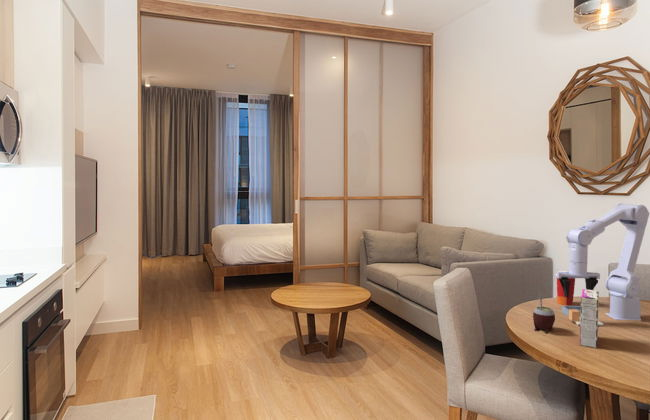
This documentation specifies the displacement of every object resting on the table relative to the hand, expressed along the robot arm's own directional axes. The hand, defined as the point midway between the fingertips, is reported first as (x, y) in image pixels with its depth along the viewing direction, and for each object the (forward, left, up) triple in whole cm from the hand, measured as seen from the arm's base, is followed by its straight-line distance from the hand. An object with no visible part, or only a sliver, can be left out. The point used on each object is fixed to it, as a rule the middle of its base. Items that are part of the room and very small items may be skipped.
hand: (577, 297), depth 164 cm
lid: (-3, +1, -9) cm, 10 cm away
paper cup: (-5, -24, -10) cm, 26 cm away
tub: (-3, -9, -10) cm, 14 cm away
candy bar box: (+5, +19, -10) cm, 22 cm away
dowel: (-4, -10, -9) cm, 14 cm away
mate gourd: (+15, +10, -10) cm, 21 cm away
